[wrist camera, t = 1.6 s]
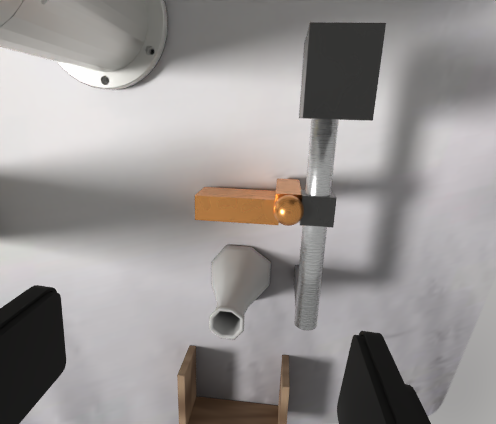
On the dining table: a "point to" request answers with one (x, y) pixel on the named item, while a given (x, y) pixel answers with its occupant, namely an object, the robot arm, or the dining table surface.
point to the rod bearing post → (296, 280)
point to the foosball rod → (312, 150)
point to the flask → (236, 287)
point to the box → (226, 401)
